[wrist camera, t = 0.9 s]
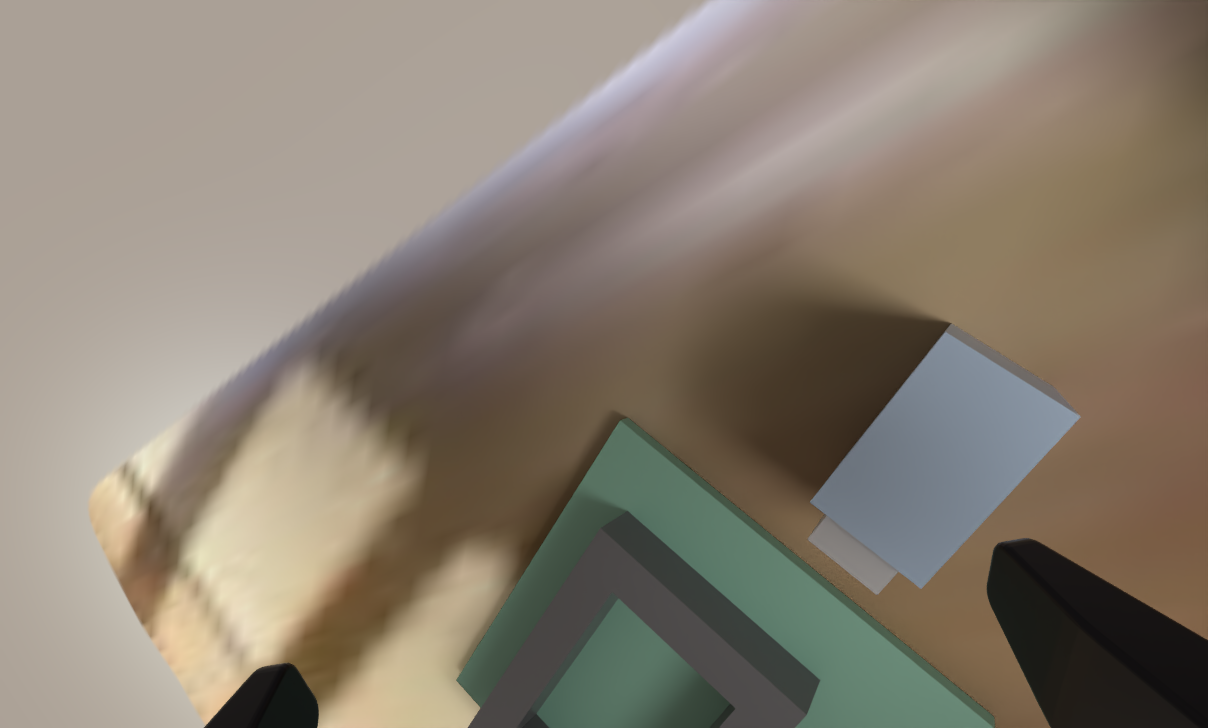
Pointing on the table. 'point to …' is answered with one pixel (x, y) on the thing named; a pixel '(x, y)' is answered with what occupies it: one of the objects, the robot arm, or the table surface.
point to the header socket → (675, 613)
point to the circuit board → (744, 576)
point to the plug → (937, 462)
